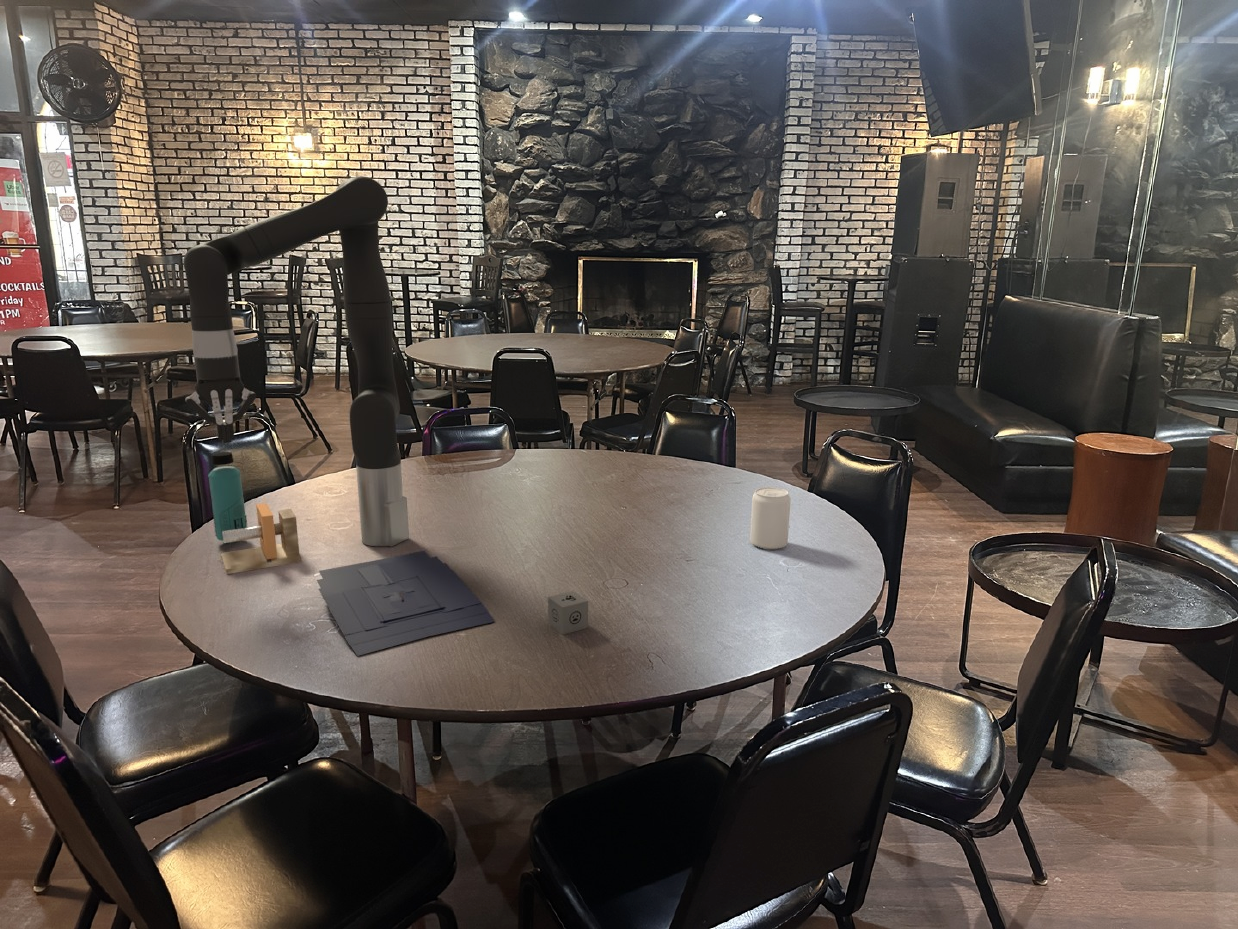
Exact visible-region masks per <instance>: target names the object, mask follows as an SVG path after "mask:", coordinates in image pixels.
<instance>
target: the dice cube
mask: <svg viewBox="0 0 1238 929" xmlns="http://www.w3.org/2000/svg"><path fill="white" fill-rule="evenodd" d="M547 610H548V611H547V612H548V613H547V617H548V619H547V621H548V625H549V626H551V627H552V628H553V629H555V630H556V631H558V632H559V633H560V634H562V636H563V635H566V634H570V633H574V632H577V631H581V630H584V629H587V628H589V600H587V599H586V598H585V597H583V596H582V595H581V594H580V593H577V592H576V591H574V590H571V591H566V592H562V593H558V594H555V595H551V596H548V597H547Z"/></svg>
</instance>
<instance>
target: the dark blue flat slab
mask: <svg viewBox="0 0 1238 929" xmlns="http://www.w3.org/2000/svg"><path fill="white" fill-rule="evenodd" d="M318 572H319V574H320V576H321V578H320V579H316V583H317V584H318V587H320V588H318V591H319V593H320V595H321V597H322V599H323V601H324V602H325V604H326V605H327V608H328V609H329V611H330V613H331V614H332V616H333V618H334V620H335V622H336V623H337V625H338V627H339V628H340V630H341V632H342V634H343V636H344V638H345V640H346V641H347V643H348V645H349V646H350V647H351V648H352V650H353V651H354V653H355V654H356V656H357V657H359V656H362V655H366V654H369V653H373V652H376V651H380V650H381V651H382V650H383V649H387V648H392V647H394V646H398V645H401V644H406V643H409V642H413V641H417V640H420V639H425V638H427V637H432V636H436V635H440V634H445V633H451V632H454V631H458V630H459V631H460V630H463V629H467V628H468V629H469V628H472V627H477V626H481V625H486V624H490V623H495V622H496V620H495V619H494V617H493V616H492V615H491V613H490V611H489V610H488V609H487V608H486V606H485V605H484V604H483V602H482V601H481V599H479V598H478V597H477V595H476V594H475V593H474V592H473V591H472V590H471V589H470V587H469V586H468V585H467V584H466V583H465V582H464V580H462V578H460V576H459V575H458V574H457V573H456V572H455V570H454V569H452V568H451V567H450V566H449V565H448V564H447V563H446V562H442V560H441V559H439V557H438V556H437V555H435V556H430V555H429V554H428V553H427V552H426V550H420V551H415V552H411V553H410V552H409V553H406V554H400V555H394V556H390V557H385V558H380V559H375V560H370V561H365V562H359V563H354V564H348V565H343V566H337V567H332V568H327V569H322V570H318Z"/></svg>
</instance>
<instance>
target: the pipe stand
mask: <svg viewBox="0 0 1238 929" xmlns="http://www.w3.org/2000/svg"><path fill="white" fill-rule="evenodd" d="M277 512H278V520H279V522H277V523H274V529H275V536H280V540H281V543H276V549H277V558H273V559H266V557H265V554H264V552H263V550H262V547H261V546H260V547H259V546H258V547H252V548H251V547H250V548H246V549H240V550H233V551H226V552H221V553H220V555H221V556H220V557H221V561H222V563H223V567H224V571H225V574H226V575H230V574H237V573H243V572H248V571H254V570H259V569H266V568H271V567H277V566H283V565H289V564H297V563H301V562H303V561H302V556H301V554H300V546H299V533H298V525H297V516H296V515H295V513H294V512H293V509H292V508H288V509H287V508H286V509H281V510H277ZM222 533H223V541H222V542H223V543H224V544H226V543H228V544H229V543H234V542H235V543H236V542H240V541H246V540H247V541H248V540H252V539H260V538H261V537H262V539H263V532H262V524H261V525H260V526H258V525H256V526H249V527H248V528H241V529H234V530H227V531H222Z"/></svg>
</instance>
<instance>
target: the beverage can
mask: <svg viewBox="0 0 1238 929" xmlns="http://www.w3.org/2000/svg"><path fill="white" fill-rule="evenodd" d="M790 510H791V496H790V495H789V491H788V490H786V489H784V488H780V487H772V486H767V487H765V486H764V487H759V488H755V491H754V493H753V495H752V500H751V513H750V514H751V516H750V519H751V520H750V535H749V536H750V537H749V542H750V543H751V544H752V545H753V546H755V547H757V546H758V548H759V547H760V548H759V549H762V548H763V550H779V549H781V548H785V547H786V546H787V545H788V542H789V527H790V512H791V511H790ZM778 548H779V549H778Z"/></svg>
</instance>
